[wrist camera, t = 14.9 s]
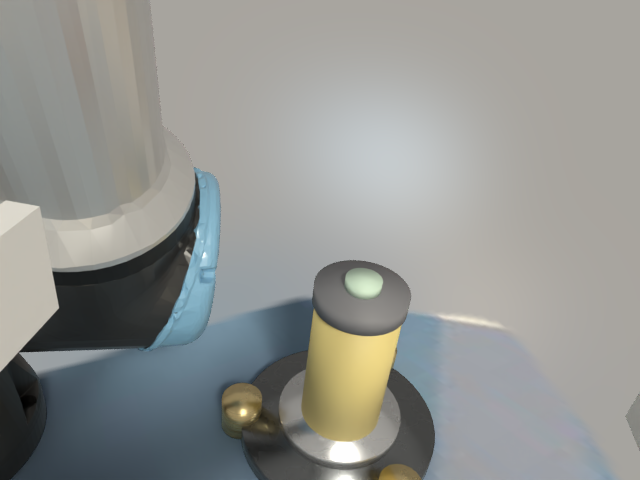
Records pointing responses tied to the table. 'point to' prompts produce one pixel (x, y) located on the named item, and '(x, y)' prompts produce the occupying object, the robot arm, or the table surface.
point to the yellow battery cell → (351, 347)
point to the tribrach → (319, 452)
